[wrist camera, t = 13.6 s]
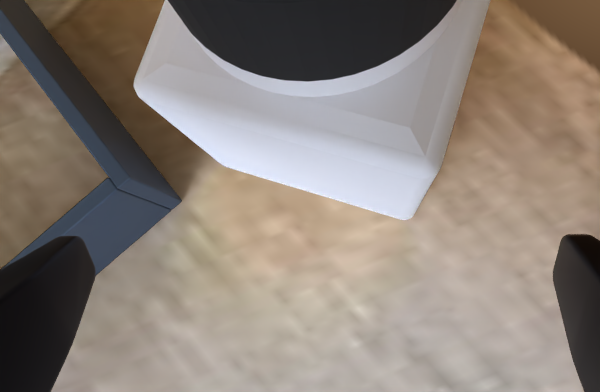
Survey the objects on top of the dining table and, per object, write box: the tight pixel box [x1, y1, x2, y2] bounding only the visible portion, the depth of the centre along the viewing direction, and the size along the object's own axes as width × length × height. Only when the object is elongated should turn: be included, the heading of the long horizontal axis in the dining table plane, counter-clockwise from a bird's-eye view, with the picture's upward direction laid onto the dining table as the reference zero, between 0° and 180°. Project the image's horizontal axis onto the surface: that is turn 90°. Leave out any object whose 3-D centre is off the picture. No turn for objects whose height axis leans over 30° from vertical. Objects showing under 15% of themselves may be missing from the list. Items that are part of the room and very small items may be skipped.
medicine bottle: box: [134, 0, 490, 220], centre depth 12 cm, size 7×7×12 cm
